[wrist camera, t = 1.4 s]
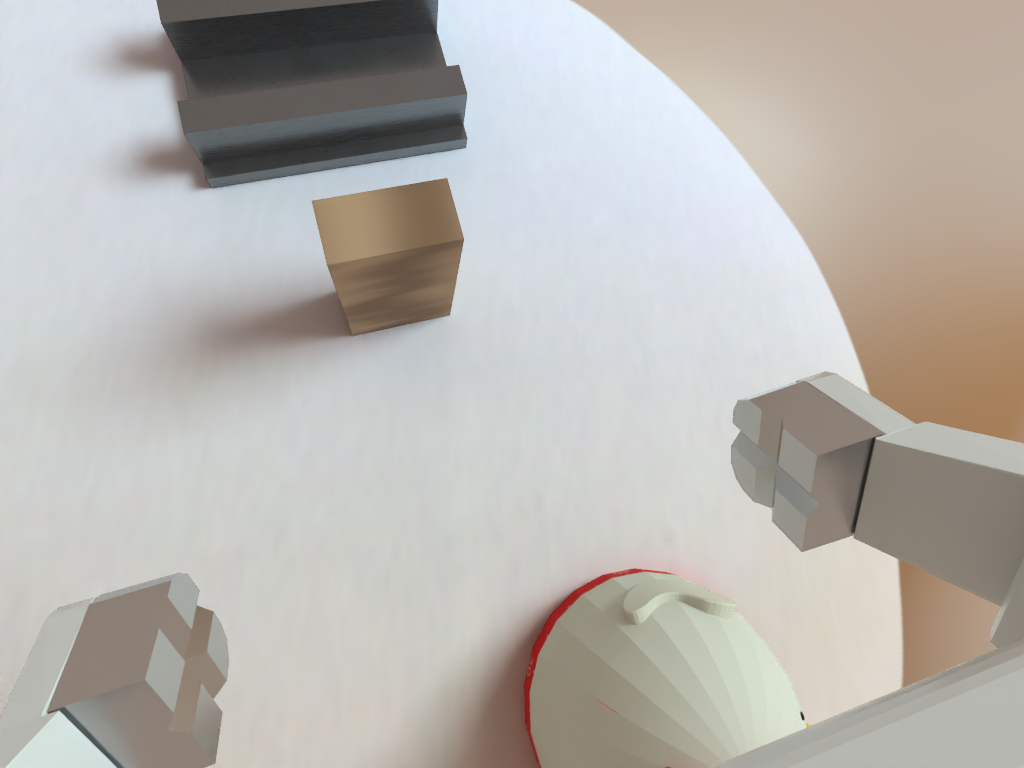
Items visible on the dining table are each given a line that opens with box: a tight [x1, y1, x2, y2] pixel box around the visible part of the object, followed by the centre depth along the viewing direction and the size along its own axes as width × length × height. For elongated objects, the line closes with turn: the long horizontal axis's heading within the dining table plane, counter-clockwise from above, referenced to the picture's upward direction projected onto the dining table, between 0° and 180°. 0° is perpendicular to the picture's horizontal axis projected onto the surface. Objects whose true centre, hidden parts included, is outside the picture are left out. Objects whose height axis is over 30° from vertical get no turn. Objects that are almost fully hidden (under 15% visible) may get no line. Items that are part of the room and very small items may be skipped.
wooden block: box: [312, 178, 464, 336], centre depth 31 cm, size 6×3×11 cm, turn 105°
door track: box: [156, 0, 467, 188], centre depth 37 cm, size 16×11×4 cm
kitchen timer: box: [524, 569, 809, 768], centre depth 27 cm, size 14×14×15 cm
